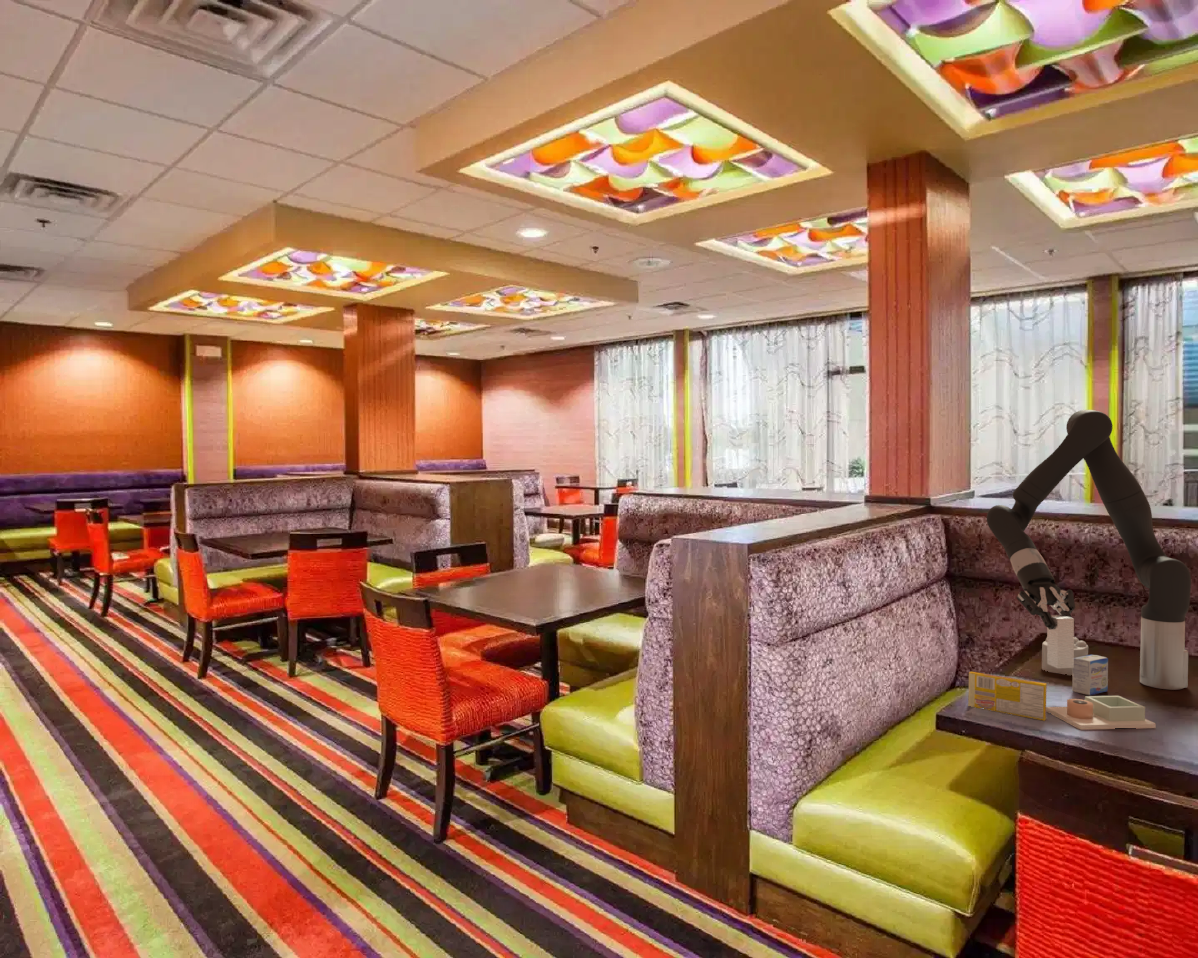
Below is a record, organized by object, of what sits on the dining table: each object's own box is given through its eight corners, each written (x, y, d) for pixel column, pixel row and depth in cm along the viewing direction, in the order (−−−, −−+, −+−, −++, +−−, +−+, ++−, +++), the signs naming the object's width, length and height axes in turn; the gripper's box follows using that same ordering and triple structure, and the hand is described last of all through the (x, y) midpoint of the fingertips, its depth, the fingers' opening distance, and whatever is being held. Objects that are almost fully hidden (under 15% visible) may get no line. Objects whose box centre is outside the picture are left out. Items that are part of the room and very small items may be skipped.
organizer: (1116, 709, 182) (1116, 692, 182) (1155, 727, 170) (1155, 709, 170) (1045, 711, 181) (1046, 693, 181) (1080, 729, 169) (1080, 711, 169)
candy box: (1046, 719, 176) (1047, 683, 176) (1044, 721, 174) (1045, 685, 174) (970, 704, 186) (970, 670, 186) (967, 706, 185) (968, 672, 185)
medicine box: (1089, 696, 192) (1090, 661, 192) (1071, 691, 196) (1072, 657, 196) (1108, 691, 196) (1108, 657, 196) (1090, 686, 200) (1090, 653, 199)
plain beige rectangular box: (1063, 663, 191) (1063, 614, 191) (1073, 667, 187) (1073, 618, 187) (1047, 663, 191) (1047, 615, 191) (1057, 668, 187) (1057, 618, 187)
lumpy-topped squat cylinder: (1038, 670, 215) (1038, 639, 215) (1050, 660, 225) (1051, 631, 225) (1081, 677, 208) (1082, 645, 208) (1092, 667, 218) (1093, 637, 217)
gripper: (1010, 562, 197) (1040, 619, 185) (1064, 560, 198) (1097, 617, 186) (998, 579, 202) (1026, 636, 191) (1051, 577, 203) (1082, 634, 191)
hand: (1061, 627), depth 188 cm, fingers closed on plain beige rectangular box, 4 cm apart
